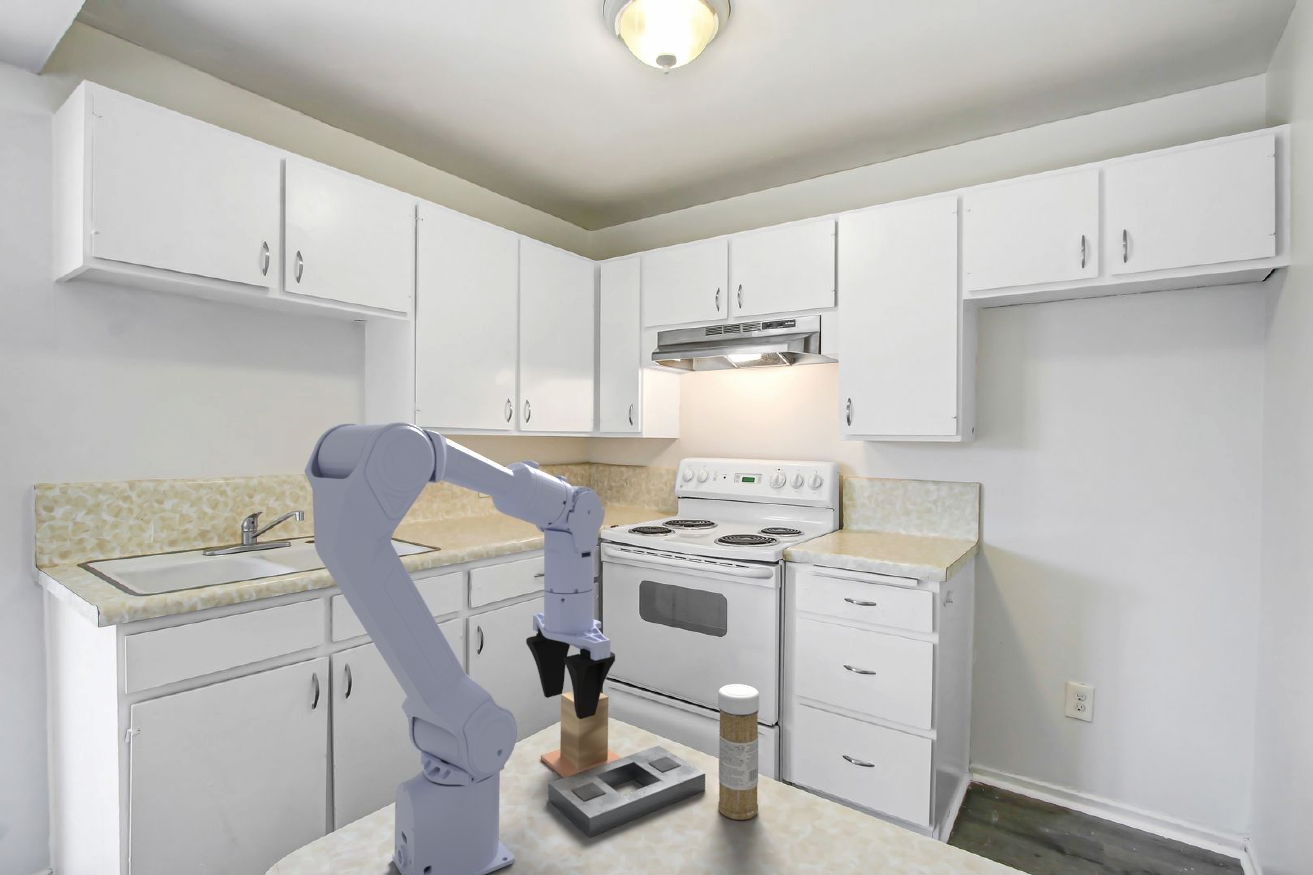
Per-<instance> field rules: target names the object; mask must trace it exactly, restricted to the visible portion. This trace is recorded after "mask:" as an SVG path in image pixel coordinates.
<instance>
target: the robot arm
mask: <svg viewBox="0 0 1313 875" xmlns="http://www.w3.org/2000/svg"><path fill="white" fill-rule="evenodd" d="M539 467H540V464H539V463H538V462H536V461H534V460H522V462H520V461H516V462H512V463H510V464H508V465H506V466H505V467H504V466H503V465H501V464H499V463H497V462H495V461H493V460H491V459H489V458H488V457H487V458H486V457H484V456H482V455H481V454H479V453H477V452H474V451H473V450H471V449H469V448H467V447H464V446H463V445H461V444H459V443H456V442H455V441H453V440H451V439H448V438H446V437H444V436H443V435H442V434H440V433H439V432H437V431H433V430H429V429H422V428H421V427H418V426H417V425H415V424H412V423H409V422H405V421H399V422H398V421H396V422H390V423H387V424H355V423H341V424H337V425H334V426H333V427H330V428H328V429H327V430H326V431H324V433H323V434H321V435H320V437H319V438H318V440H317V441H316V444H315V445H314V447H313V450H312V452H311V454H310V457H309V460H308V462H307V464H306V467H305V468H304V474H305V476H306V478H307V480H308V483H309V485H310V487H311V490H312V509H313V510H312V513H313V514H312V516H313V540H314V548H315V550H316V553H317V555H318V557H319V559H320V560H321V562H322V563H323V565H324V567H325V568H326V570H327V571H328V573H329V574H330V576H331V578H332V580H333V581H334V582H335V584H336V585H337V587H338V589H339V590H340V592H341V594H343V597H344V598H345V600H346V602H347V603H348V605H349V606H350V608H351V609H352V611H353V613H354V614H355V616H356V618H357V619H358V620H359V622H360V623H361V625H362V627H363V629H364V630H365V632H366V633H367V635H368V636H369V638H370V639H371V642H373V644H374V645H375V648H376V649H377V650H378V652H379V653H380V655H381V657H382V659H383V660H384V661H385V663H386V664H387V666H388V668H389V670H390V671H391V672H392V675H393V676H394V677H395V679H396V680H397V682H398V684H399V685H400V687H401V689H402V690H403V692H404V693H405V695H406V697H405V699H404V701H403V703H402V705H401V709H402V710H403V712H404V714H405V716H406V718H407V721H408V735H409V739H410V742H411V744H412V745H413V747H414V748H415V749H416V750H417V751H420V764H421V765H422V766H423V769H422V771H421V772H419V773H417V775H415V776H413V777H412V778H409V779H408V780H405V781H403V782H401V783H400V784H398V786H397V789H396V792H395V802H394V804H395V805H394V812H395V813H394V852H393V853H392V856H391V858H392V861H393V862H394V865H395V866H396V868H397V869H398V871H399V873H400V875H487V874H489V873H491V872H494V871H497V870H500V869H501V868H504V867H506V866H510V865H512V864H513V863H515V861H516V857H515V854H513V852H512V851H511V850H510V849H509V848H508V846H507V845H505V843H504V842H503V841H502V840H501V839H500V786H501V785H500V781H501V780H500V776H501V771H503V770H505V765H506V763H507V762H508V761H509V759H510V758H511V755H512V753H513V752H514V749H515V745H516V743H517V737H518V726H517V720H516V718H515V716H514V714H513V713H512V712H511V710H509V709H507V708H506V707H503V706H500V705H499V704H497V702H496V701H495V700H494V698H493V695H492V694H491V693H490V692H489V691H487V689H485V688H484V687H483V686H482V685H480V684H479V682H477V681H476V680H474V679H473V678H472V677H471V676H469V674H467V673H466V671H465V670H464V668H463V667H462V664H461V663H460V661H459V659H458V658H457V655H456V654H455V652H454V650H453V648H452V647H451V646H450V644H449V642H448V639H446V636H445V634H444V633H443V632H442V630H441V628H440V627H439V626H440V625H439V624H438V622H437V621H436V619H435V616H433V613H432V612H431V610H430V609H429V607H428V605H427V603H426V602H425V600H424V597H423V596H422V595H421V592H420V591H419V588H418V587H417V585H416V583H415V582H414V580H413V579H412V577H411V575H410V574H409V571H408V570H407V568H406V566H405V565H404V563H403V561H402V559H401V558H400V556H399V554H398V552H397V550H396V549H395V546H393V543H392V538H393V535H394V533H395V531H396V529H397V528H398V526H400V524H401V522H402V521H403V519H404V518H405V516H406V515H407V514H408V512H409V511H410V509H411V508H412V506H413V505H414V503H415V502H416V500H417V499H418V498H419V496H420V495H421V493H422V491H423V490H424V489H425V487H426V486H427V484H428V483H433V484H437V483H440V482H441V481H443V482H446V483H449V484H452V485H455V486H458V487H462V488H465V489H468V490H470V491H473V492H477V493H480V494H483V495H486V496H489V497H491V501H492V503H493V506H494V508H495V509H496V511H498V512H499V513H501V514H504V515H506V516H510V517H512V518H514V519H517V520H521V521H524V522H526V523H529V524H532V525H534V526H536V528H537V529H538V531H539V532H541V533H544V534H543V535H544V536H543V537H544V538H543V540H544V542H543V544H544V545H543V546H544V548H543V549H544V550H543V552H544V553H543V554H544V555H543V556H544V557H543V560H544V561H543V562H544V563H543V566H544V568H543V569H544V570H543V572H544V577H543V578H544V579H543V581H544V583H543V584H544V586H543V594H544V595H543V596H544V597H543V599H544V600H543V601H544V602H543V605H544V606H543V607H544V608H543V612H540V613H535V614H533V615H532V630H533V631H534V632H536V635H533V636H528V637H527V638H526V641H525V643H526V646H527V647H528V648H529V651H530V652H531V654H532V657H533V659H534V661H535V664H536V668H537V671H538V674H539V679H540V684H541V685H540V686H541V689H542V692H543V696H544V697H545V698H547V699H549V698H551V697H556V696H561V694H563V690H564V687H565V686H564V685H565V677H566V676H565V674H566V669H567V671H568V674H569V676H570V677H569V678H570V680H571V685H572V691H573V694H574V705H575V712H576V716H577V718H579V719H583V718H587V717H590V716H593V715H595V713H596V709H597V705H598V701H599V697H600V693H602V689H603V686H604V683H605V681H606V678H607V676H608V674H609V672H610V669H611V668H612V666H613V665H614V663H615V662H616V654H615V652H612V651H611V639H610V638H608V637H606V636H605V635H603V633H602V632H601V630H599V629H601V628H602V622H601V621H599V620H598V619H594V616H595V614H594V612H595V611H594V609H595V607H594V606H595V605H594V598H595V597H594V594H595V593H594V592H595V591H594V590H595V588H594V587H595V585H594V584H595V582H594V581H595V580H594V577H595V575H594V568H595V567H594V566H595V565H594V564H595V562H594V558H595V557H594V551H595V550H597V545H598V544H599V532H600V530H601V527H602V525H603V523H604V519H605V514H606V509H605V508H603V504H602V501H601V498H600V497H599V495H598V494H597V493H596V492H595V490H593V488H590V487H588V486H577V485H576V486H575V485H572V484H570V483H569V482H568V478H567V477H565V476H563V475H554V476H553V475H551V474H549V473H546V472H544V471H541V470H540V469H539ZM571 646H572V647H575V648H576V649H578V650H579V653H576V654H572V655H568V653H569V650H570V647H571Z"/></svg>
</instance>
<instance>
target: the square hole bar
mask: <svg viewBox="0 0 1313 875" xmlns="http://www.w3.org/2000/svg"><path fill="white" fill-rule="evenodd" d="M630 780H635V781H637V782H638V783H640V784H641V785H643V786H644V787H642V788H638V789H635V790H633V791H631V792H627V793H625V794H621V793H619V792H618V791H617V790H616V789H614V788H613V787H614V786H616V785H620V784H622V783H624V782H628V781H630ZM547 791H548V792H547V793H548V794H547V796H548V799H547V800H548V802H550V803H551V804H552V805H553V807H555V808H556V809H557V810H559V811H560V812H561V813H562V814H563V815H564V816H565V817H566V818H568V820H570V821H571V823H573V824H574V825H575V826H577V828H578V829H579V830H581V831H582V832H583V833H584V834H585V835H587V837H589V838H591V837H595V836H596V835H599V834H601V833H605V832H607V831H609V830H612V829H614V828H617V827H619V826H621V825H624V824H626V823H629V822H631V821H633V820H636V819H638V818H641V817H644V816H646V815H648V814H650V813H653V812H656V811H659V810H661V809H662V808H665V807H667V806H670V805H672V804H674V803H677V802H679V801H682V800H684V799H687V798H689V797H693V796H694V795H697V794H699V793H701V792H704V791H706V772H704V771H702V770H701V769H700V768H698V767H696V766H694V765H692V764H691V763H689V762H687V761H686V760H684V759H682V758H681V757H679V756H677V755H676V754H674V753H673V752H671V751H669V750H667V749H666V748H664V747H662V746H661V745H657V746H654V747H651V748H648V749H647V748H646V749H645V750H642V751H638V752H636V753H633V754H629V755H628V756H627V755H626V756H624V757H621V759H618V760H615V761H612V762H609V763H606V764H603V765H600V766H597V767H594V768H591V769H588V770H585V771H582V772H579V773H576V774H573V775H570V776H567V777H564V778H563V777H562V778H559V779H556V780H553V781H549V782H548V789H547Z"/></svg>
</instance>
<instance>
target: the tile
mask: <svg viewBox="0 0 1313 875" xmlns="http://www.w3.org/2000/svg"><path fill="white" fill-rule="evenodd" d="M621 758H622V757H621V756H619V755H618V754H616V753H615V752H614V751H612V750H611V749H609V748H608V760H605V761H602V762H599V763H596V764H593V765H590V766H588V767H585V768H582V769H579V770H578V769H577V768H575V767H574V766H573V765H571V764H570V763H568V762H567V761H566V760H564V759H563V758H562V757H560V749H558V750H553V751H551V752H548V753H544V754H542V755H541V754H540V760H541V761H543V763H545V764H546V765H547V766H549V767H550V768H551V769H552V770H553V771H554V772H556V773H557V774H559V776H561V777H562V778H564V777H567V776H570V775H573V774H576V773H579V772H582V771H585V770H588V769H591V768H594V767H597V766H600V765H603V764H606V763H609V762H612V761H615V760H618V759H621Z"/></svg>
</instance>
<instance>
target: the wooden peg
mask: <svg viewBox="0 0 1313 875" xmlns="http://www.w3.org/2000/svg"><path fill="white" fill-rule="evenodd" d="M559 746H560V749H559V750H560V757H562V758H563V759H564V760H566V761H567V762H568V763H570V764H571V765H573V766H574V767H575V768H577V769H578V770H579V769H582V768H585V767H588V766H590V765H593V764H596V763H599V762H602V761H605V760H608V749H609V696H608V695H605V693H602V692H601V693H600V697H599V701H598V705H597V709H596V713H595V715H593V716H590V717H587V718H583V719H579V718H577V716H576V712H575V705H574V694H573V690H572V691H568V692H564V693H562V694H560V745H559Z"/></svg>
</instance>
